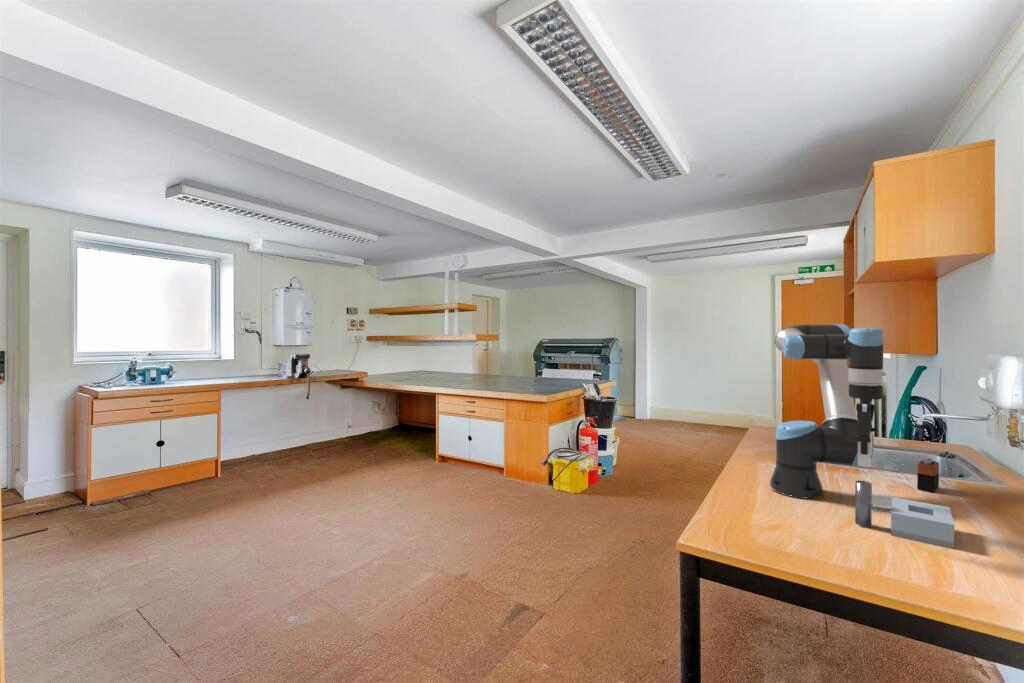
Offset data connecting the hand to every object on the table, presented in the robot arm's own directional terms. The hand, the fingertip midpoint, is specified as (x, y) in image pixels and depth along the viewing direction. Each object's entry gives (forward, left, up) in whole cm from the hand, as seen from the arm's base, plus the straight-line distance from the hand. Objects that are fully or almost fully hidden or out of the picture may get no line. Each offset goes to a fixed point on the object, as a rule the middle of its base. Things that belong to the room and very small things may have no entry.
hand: (865, 459), depth 126 cm
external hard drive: (+4, +22, -19) cm, 29 cm away
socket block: (+12, +4, -19) cm, 22 cm away
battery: (+15, +47, -19) cm, 52 cm away
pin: (0, 0, -19) cm, 19 cm away
